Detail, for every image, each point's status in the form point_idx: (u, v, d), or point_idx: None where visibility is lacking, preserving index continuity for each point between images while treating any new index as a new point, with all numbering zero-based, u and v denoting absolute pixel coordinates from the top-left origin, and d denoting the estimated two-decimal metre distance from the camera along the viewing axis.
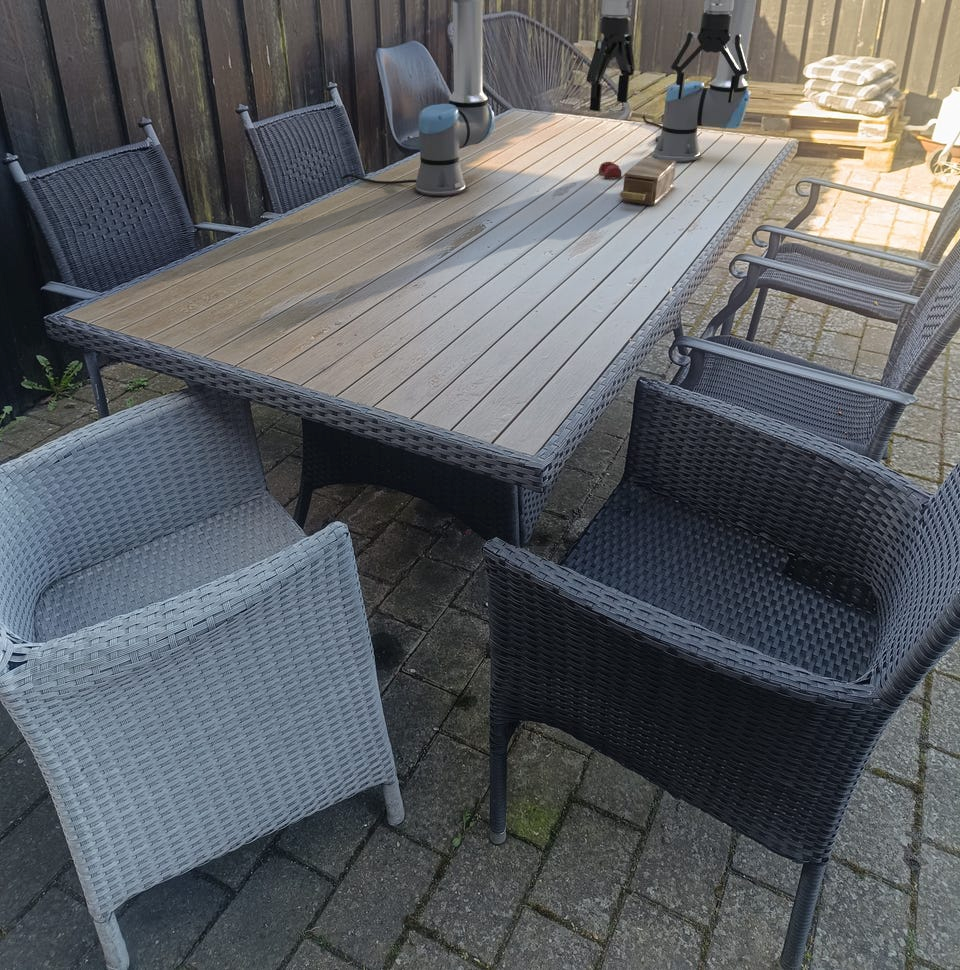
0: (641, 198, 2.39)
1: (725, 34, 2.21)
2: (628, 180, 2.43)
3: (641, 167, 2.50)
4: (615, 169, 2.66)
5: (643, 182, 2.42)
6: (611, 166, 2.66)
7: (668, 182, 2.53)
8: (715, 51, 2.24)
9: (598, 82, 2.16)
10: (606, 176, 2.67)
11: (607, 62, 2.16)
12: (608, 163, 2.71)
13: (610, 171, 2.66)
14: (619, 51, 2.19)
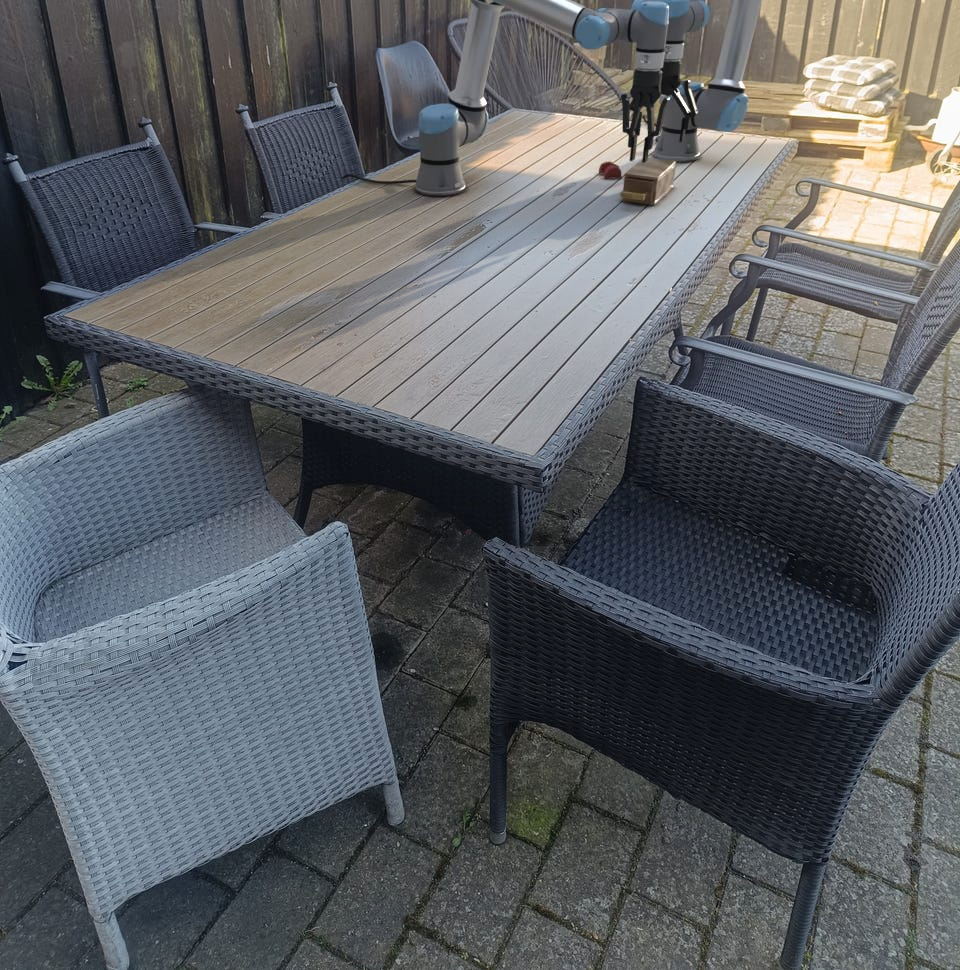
0: (641, 198, 2.39)
1: (675, 79, 2.39)
2: (628, 180, 2.43)
3: (641, 167, 2.50)
4: (615, 169, 2.66)
5: (643, 182, 2.42)
6: (611, 166, 2.66)
7: (668, 182, 2.53)
8: (667, 94, 2.42)
9: (629, 134, 2.33)
10: (606, 176, 2.67)
11: (635, 113, 2.30)
12: (608, 163, 2.71)
13: (610, 171, 2.66)
14: None
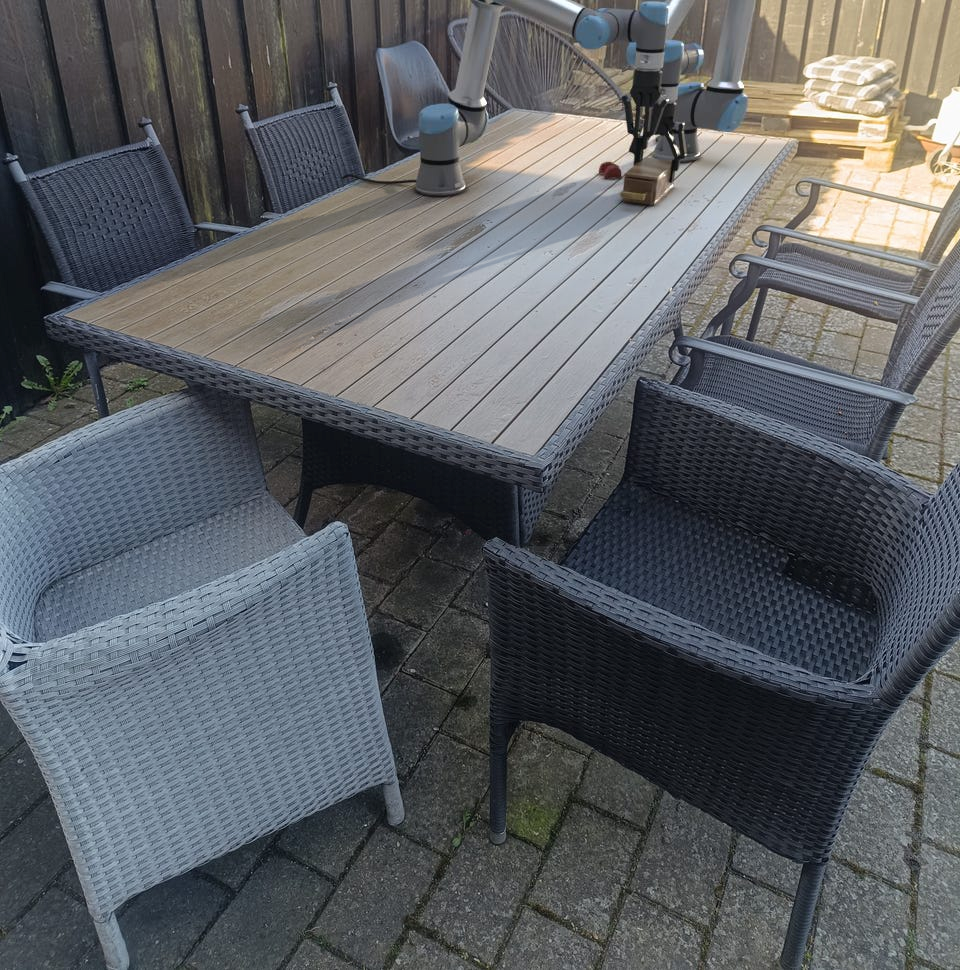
0: (641, 198, 2.39)
1: (670, 120, 2.45)
2: (628, 180, 2.43)
3: (641, 167, 2.50)
4: (615, 169, 2.66)
5: (643, 182, 2.42)
6: (611, 166, 2.66)
7: (668, 182, 2.53)
8: (662, 134, 2.48)
9: (635, 135, 2.33)
10: (606, 176, 2.67)
11: (637, 114, 2.29)
12: (608, 163, 2.71)
13: (610, 171, 2.66)
14: None
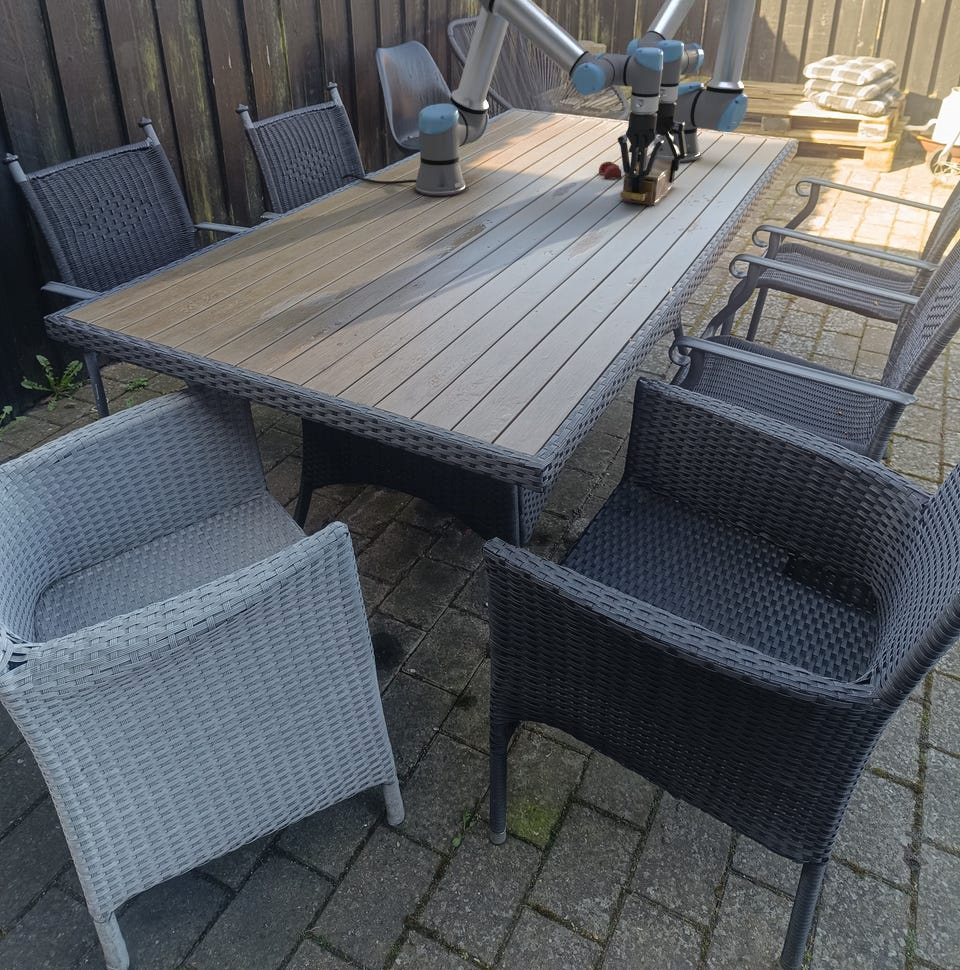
0: (641, 198, 2.39)
1: (670, 120, 2.45)
2: (628, 180, 2.43)
3: None
4: (615, 169, 2.66)
5: None
6: (611, 166, 2.66)
7: (668, 182, 2.53)
8: (662, 134, 2.48)
9: (631, 175, 2.39)
10: (606, 176, 2.67)
11: (633, 154, 2.35)
12: (608, 163, 2.71)
13: (610, 171, 2.66)
14: None
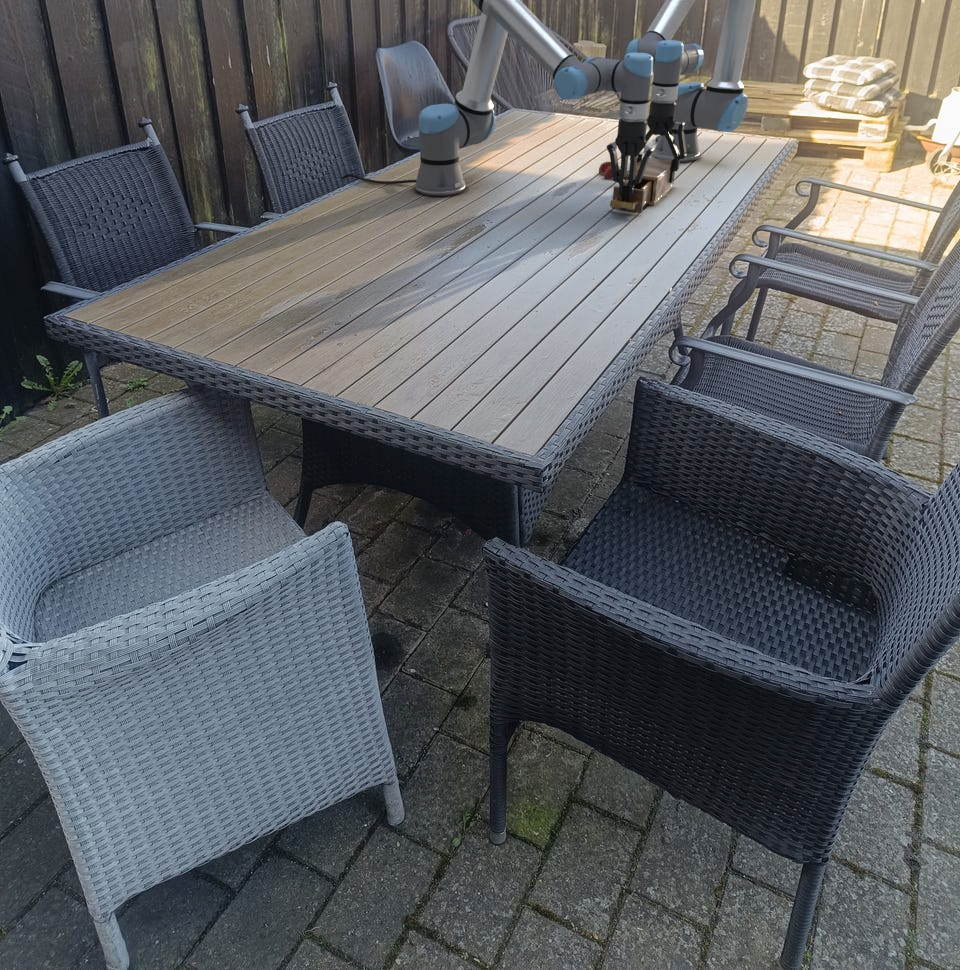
0: (631, 207, 2.32)
1: (670, 120, 2.45)
2: (618, 188, 2.37)
3: None
4: None
5: None
6: None
7: (668, 182, 2.53)
8: (662, 134, 2.48)
9: (620, 183, 2.32)
10: (606, 176, 2.67)
11: (622, 162, 2.29)
12: (608, 163, 2.71)
13: (610, 171, 2.66)
14: None
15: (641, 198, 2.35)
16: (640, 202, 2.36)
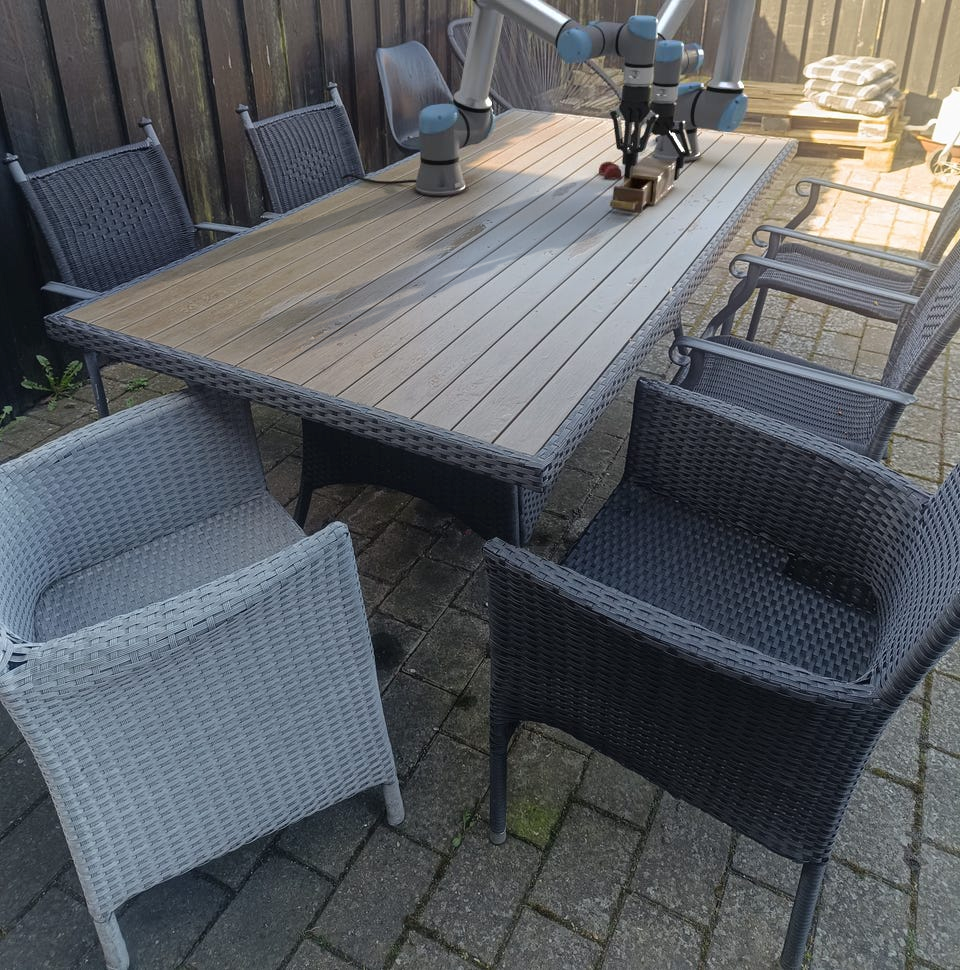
0: (631, 207, 2.33)
1: (670, 120, 2.45)
2: (618, 188, 2.37)
3: (641, 167, 2.50)
4: (615, 169, 2.66)
5: (633, 191, 2.35)
6: (611, 166, 2.66)
7: (668, 182, 2.53)
8: (662, 134, 2.48)
9: (624, 151, 2.28)
10: (606, 176, 2.67)
11: (626, 129, 2.25)
12: (608, 163, 2.71)
13: (610, 171, 2.66)
14: None
15: (641, 198, 2.35)
16: (640, 202, 2.36)
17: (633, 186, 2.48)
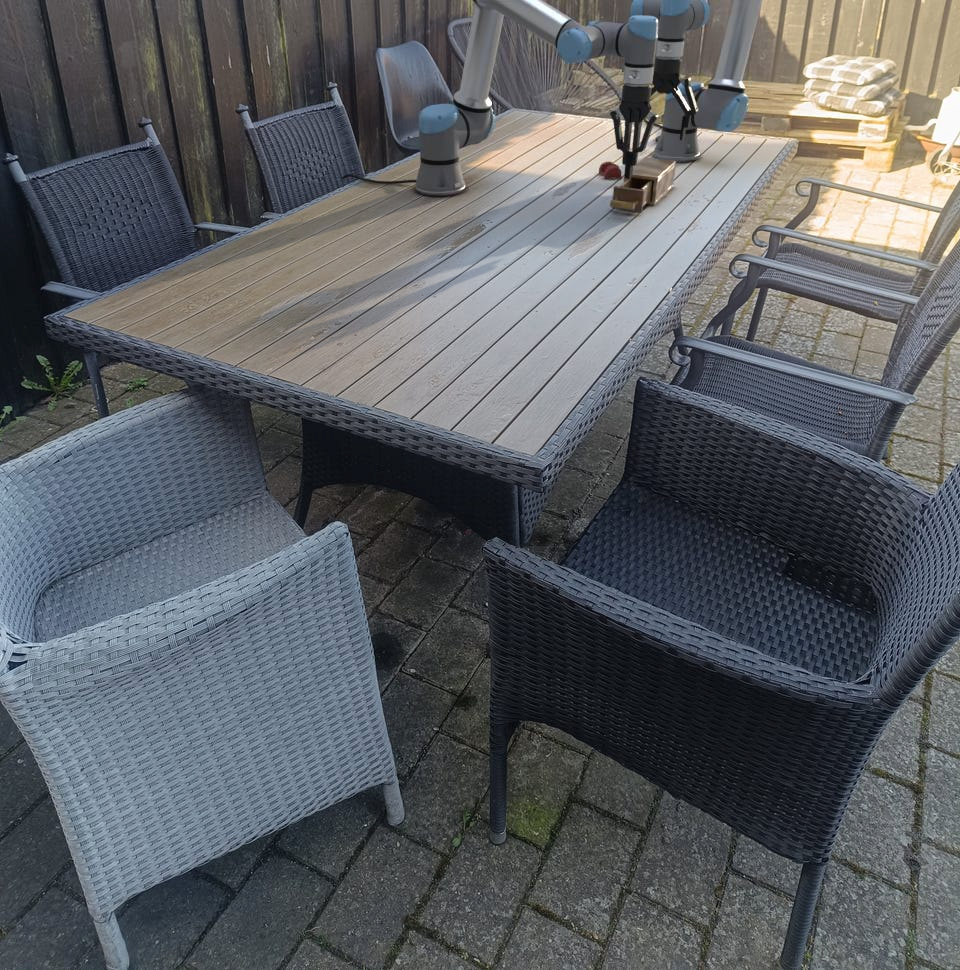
0: (631, 207, 2.33)
1: (675, 77, 2.38)
2: (618, 188, 2.37)
3: (641, 167, 2.50)
4: (615, 169, 2.66)
5: (633, 191, 2.35)
6: (611, 166, 2.66)
7: (668, 182, 2.53)
8: (667, 92, 2.41)
9: (624, 151, 2.28)
10: (606, 176, 2.67)
11: (626, 129, 2.25)
12: (608, 163, 2.71)
13: (610, 171, 2.66)
14: None
15: (641, 198, 2.35)
16: (640, 202, 2.36)
17: (633, 186, 2.48)
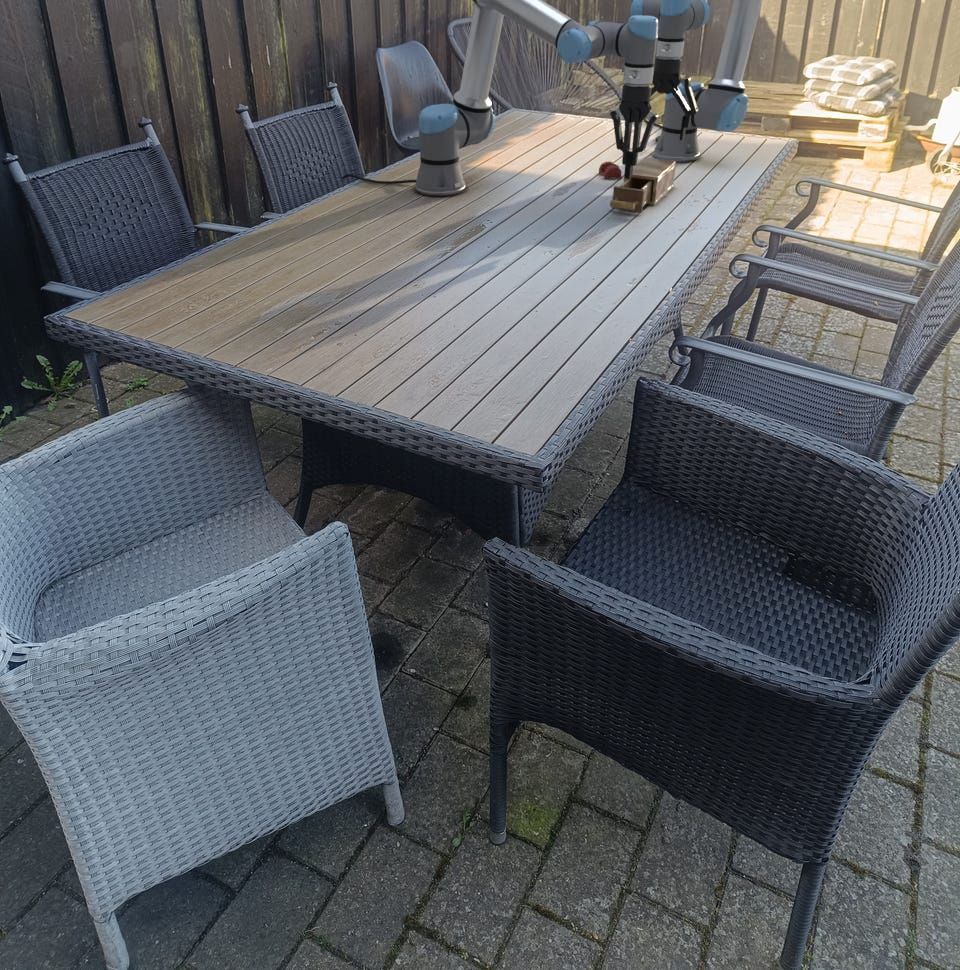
0: (631, 207, 2.33)
1: (675, 77, 2.38)
2: (618, 188, 2.37)
3: (641, 167, 2.50)
4: (615, 169, 2.66)
5: (633, 190, 2.35)
6: (611, 166, 2.66)
7: (668, 182, 2.53)
8: (667, 92, 2.41)
9: (624, 151, 2.28)
10: (606, 176, 2.67)
11: (626, 129, 2.25)
12: (608, 163, 2.71)
13: (610, 171, 2.66)
14: None
15: (641, 198, 2.35)
16: (640, 202, 2.36)
17: (633, 186, 2.48)
